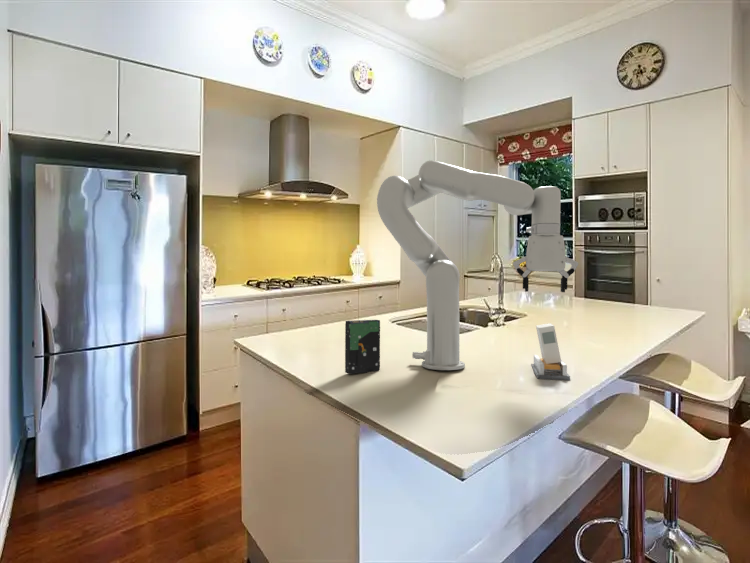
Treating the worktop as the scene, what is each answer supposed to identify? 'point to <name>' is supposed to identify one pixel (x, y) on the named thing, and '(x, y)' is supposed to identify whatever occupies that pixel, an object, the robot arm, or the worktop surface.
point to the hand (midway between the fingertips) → (544, 291)
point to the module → (548, 343)
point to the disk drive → (362, 346)
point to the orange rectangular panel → (551, 365)
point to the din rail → (549, 370)
